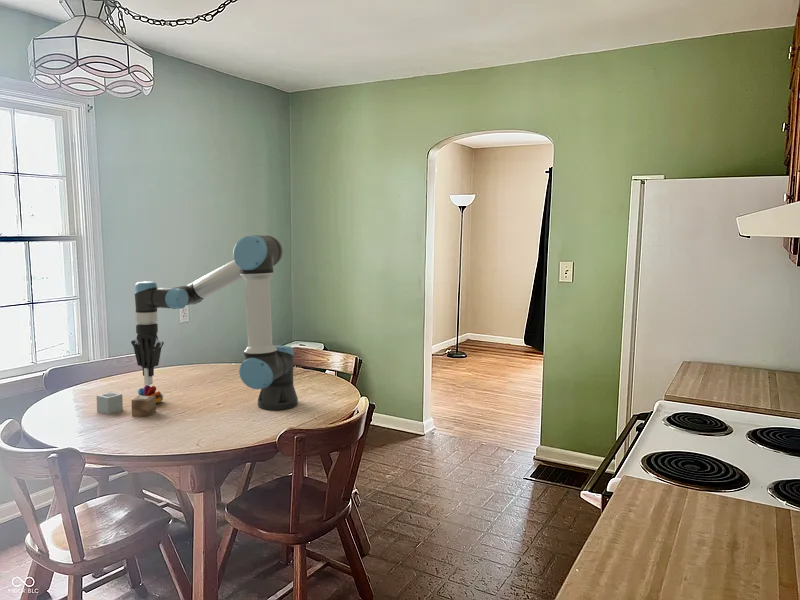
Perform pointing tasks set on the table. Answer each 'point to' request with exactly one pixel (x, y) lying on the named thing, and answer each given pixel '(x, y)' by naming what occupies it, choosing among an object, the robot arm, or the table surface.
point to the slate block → (109, 403)
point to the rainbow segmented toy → (150, 393)
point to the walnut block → (143, 406)
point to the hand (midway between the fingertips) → (148, 384)
